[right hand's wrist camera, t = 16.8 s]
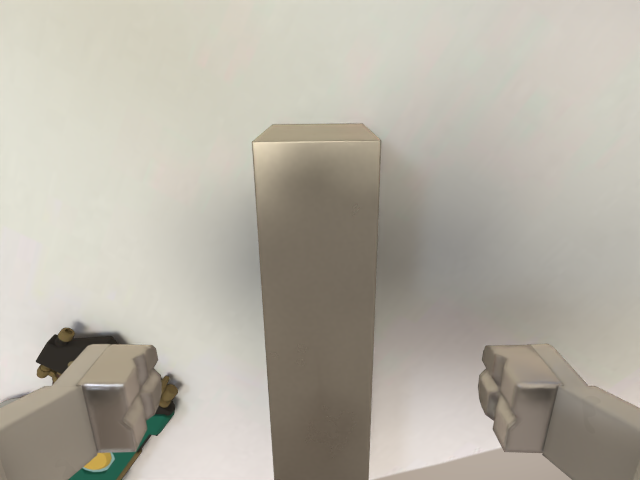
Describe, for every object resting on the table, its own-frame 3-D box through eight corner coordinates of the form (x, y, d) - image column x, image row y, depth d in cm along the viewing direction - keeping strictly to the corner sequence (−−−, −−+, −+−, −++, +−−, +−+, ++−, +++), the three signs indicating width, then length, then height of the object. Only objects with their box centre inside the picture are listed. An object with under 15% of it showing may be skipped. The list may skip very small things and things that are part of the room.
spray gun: (96, 298, 34) (223, 410, 39) (-40, 409, 37) (95, 502, 41) (70, 325, 30) (216, 447, 35) (-80, 448, 33) (74, 546, 37)
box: (271, 124, 29) (251, 141, 20) (363, 123, 29) (381, 140, 20) (287, 441, 39) (278, 542, 30) (355, 440, 39) (366, 542, 30)
